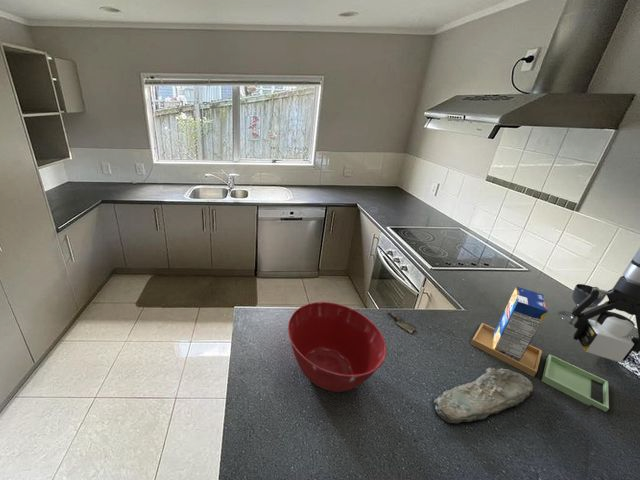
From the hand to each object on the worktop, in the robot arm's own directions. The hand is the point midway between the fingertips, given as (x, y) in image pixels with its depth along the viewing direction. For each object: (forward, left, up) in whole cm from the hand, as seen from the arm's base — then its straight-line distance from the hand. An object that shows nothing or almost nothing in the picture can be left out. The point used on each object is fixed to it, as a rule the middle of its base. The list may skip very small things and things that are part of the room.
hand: (598, 346), depth 81 cm
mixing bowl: (+52, +56, -16) cm, 78 cm away
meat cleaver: (+47, +16, -16) cm, 52 cm away
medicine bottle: (0, 0, -1) cm, 1 cm away
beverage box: (+17, 0, -15) cm, 23 cm away
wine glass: (+2, -43, -16) cm, 46 cm away
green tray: (0, 0, -16) cm, 16 cm away
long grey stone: (+17, +29, -16) cm, 37 cm away
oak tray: (+17, 0, -16) cm, 23 cm away
